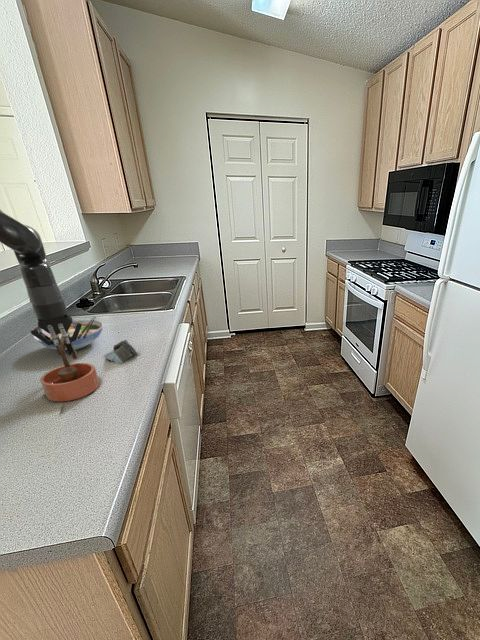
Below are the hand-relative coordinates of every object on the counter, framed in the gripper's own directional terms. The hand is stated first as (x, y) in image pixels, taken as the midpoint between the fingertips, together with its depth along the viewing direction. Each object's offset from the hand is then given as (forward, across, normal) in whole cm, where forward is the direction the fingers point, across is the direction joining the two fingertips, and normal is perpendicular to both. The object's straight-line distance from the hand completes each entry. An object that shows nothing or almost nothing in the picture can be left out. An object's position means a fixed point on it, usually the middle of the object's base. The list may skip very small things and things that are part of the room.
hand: (67, 354), depth 102 cm
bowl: (+9, 0, +7) cm, 12 cm away
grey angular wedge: (+9, -12, -11) cm, 19 cm away
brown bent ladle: (+5, 0, 0) cm, 5 cm away
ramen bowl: (+9, +3, -31) cm, 32 cm away
